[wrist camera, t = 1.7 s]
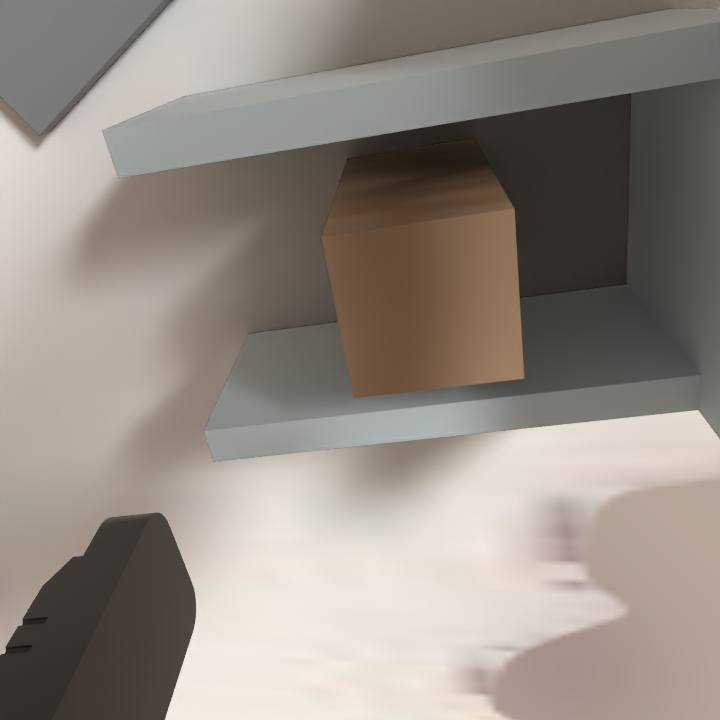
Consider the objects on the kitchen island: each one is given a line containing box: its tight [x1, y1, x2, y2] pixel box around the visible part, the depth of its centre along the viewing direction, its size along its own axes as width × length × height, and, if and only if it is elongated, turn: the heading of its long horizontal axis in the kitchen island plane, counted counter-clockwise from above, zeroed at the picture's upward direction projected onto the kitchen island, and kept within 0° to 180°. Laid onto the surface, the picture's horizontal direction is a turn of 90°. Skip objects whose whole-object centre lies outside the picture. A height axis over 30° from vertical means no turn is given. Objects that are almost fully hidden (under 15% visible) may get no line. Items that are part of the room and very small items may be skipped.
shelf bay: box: [102, 8, 720, 461], centre depth 18 cm, size 16×10×14 cm, turn 100°
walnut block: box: [321, 138, 524, 398], centre depth 20 cm, size 4×4×9 cm
